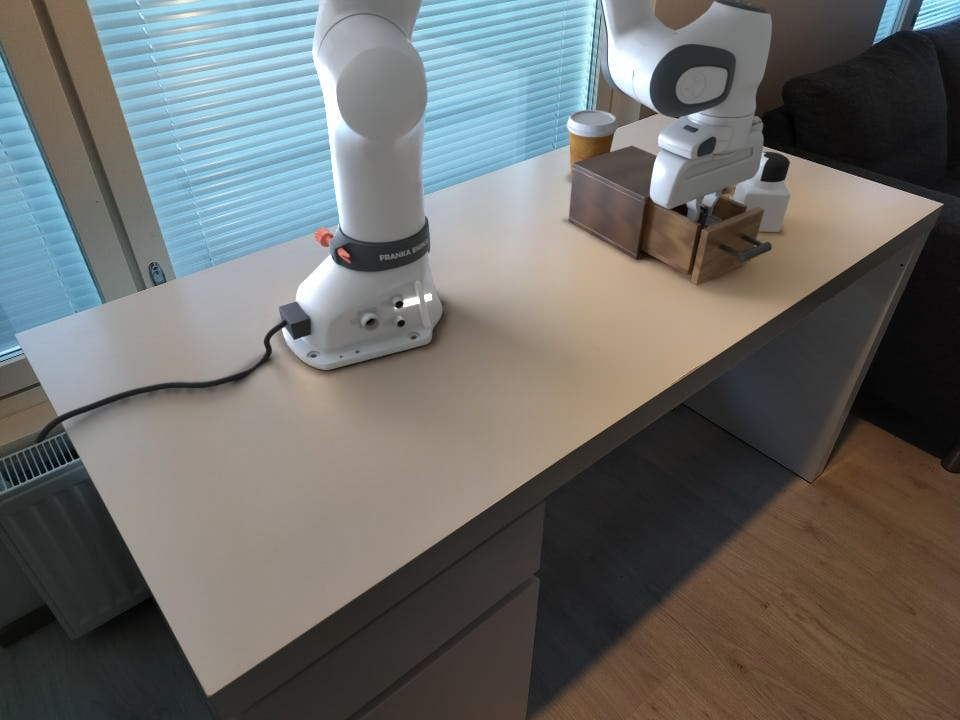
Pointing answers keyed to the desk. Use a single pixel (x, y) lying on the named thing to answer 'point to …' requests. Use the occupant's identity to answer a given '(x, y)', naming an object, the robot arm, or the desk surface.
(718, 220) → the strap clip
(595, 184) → the cabinet
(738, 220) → the drawer
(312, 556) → the desk surface
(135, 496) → the desk surface
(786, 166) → the medicine bottle
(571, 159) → the disposable coffee cup
